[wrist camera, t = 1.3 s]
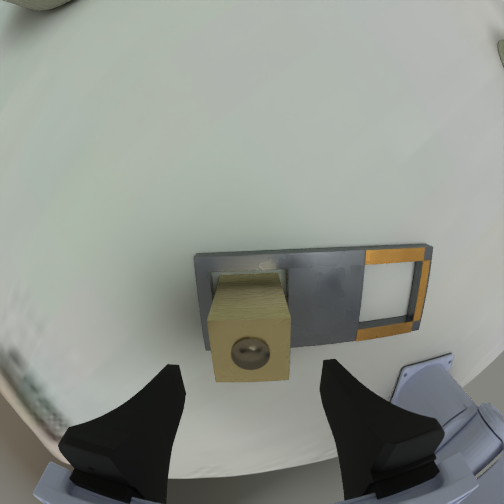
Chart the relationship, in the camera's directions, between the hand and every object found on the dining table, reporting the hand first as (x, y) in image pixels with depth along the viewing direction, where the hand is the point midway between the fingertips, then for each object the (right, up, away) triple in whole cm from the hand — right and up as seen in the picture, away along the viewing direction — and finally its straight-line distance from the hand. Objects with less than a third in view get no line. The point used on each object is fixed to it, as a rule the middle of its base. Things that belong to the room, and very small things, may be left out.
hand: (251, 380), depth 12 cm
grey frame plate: (+6, +3, +10) cm, 12 cm away
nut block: (0, +2, +10) cm, 10 cm away
